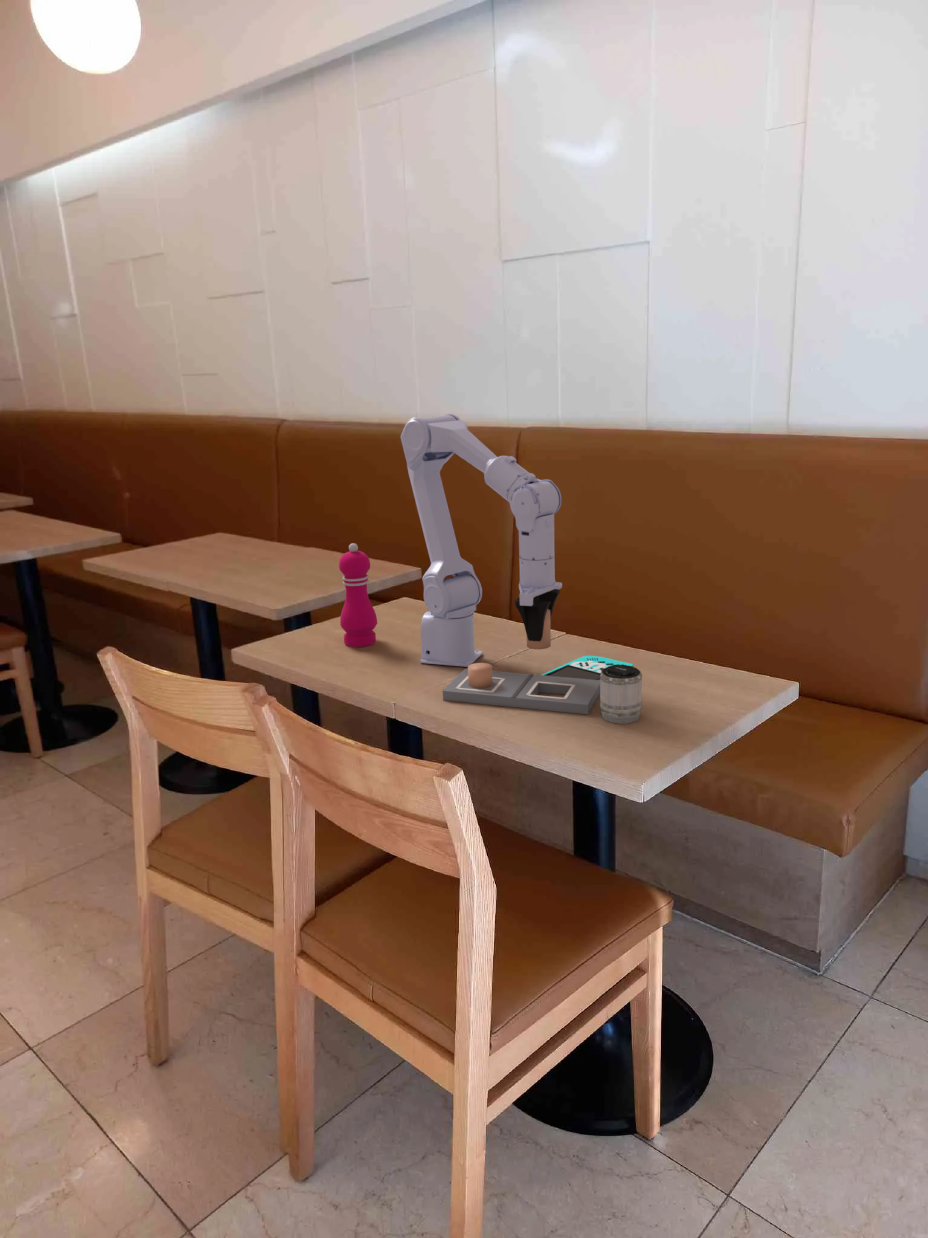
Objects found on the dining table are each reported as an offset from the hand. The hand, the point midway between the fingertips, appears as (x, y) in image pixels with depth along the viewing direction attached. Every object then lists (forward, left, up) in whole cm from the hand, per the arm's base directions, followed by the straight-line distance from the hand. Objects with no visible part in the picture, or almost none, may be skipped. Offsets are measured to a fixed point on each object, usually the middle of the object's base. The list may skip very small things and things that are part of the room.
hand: (538, 636), depth 151 cm
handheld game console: (+6, +7, -9) cm, 13 cm away
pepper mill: (-40, +14, -9) cm, 43 cm away
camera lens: (+16, -10, -9) cm, 21 cm away
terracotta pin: (0, 0, -2) cm, 2 cm away
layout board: (-1, -5, -9) cm, 10 cm away
